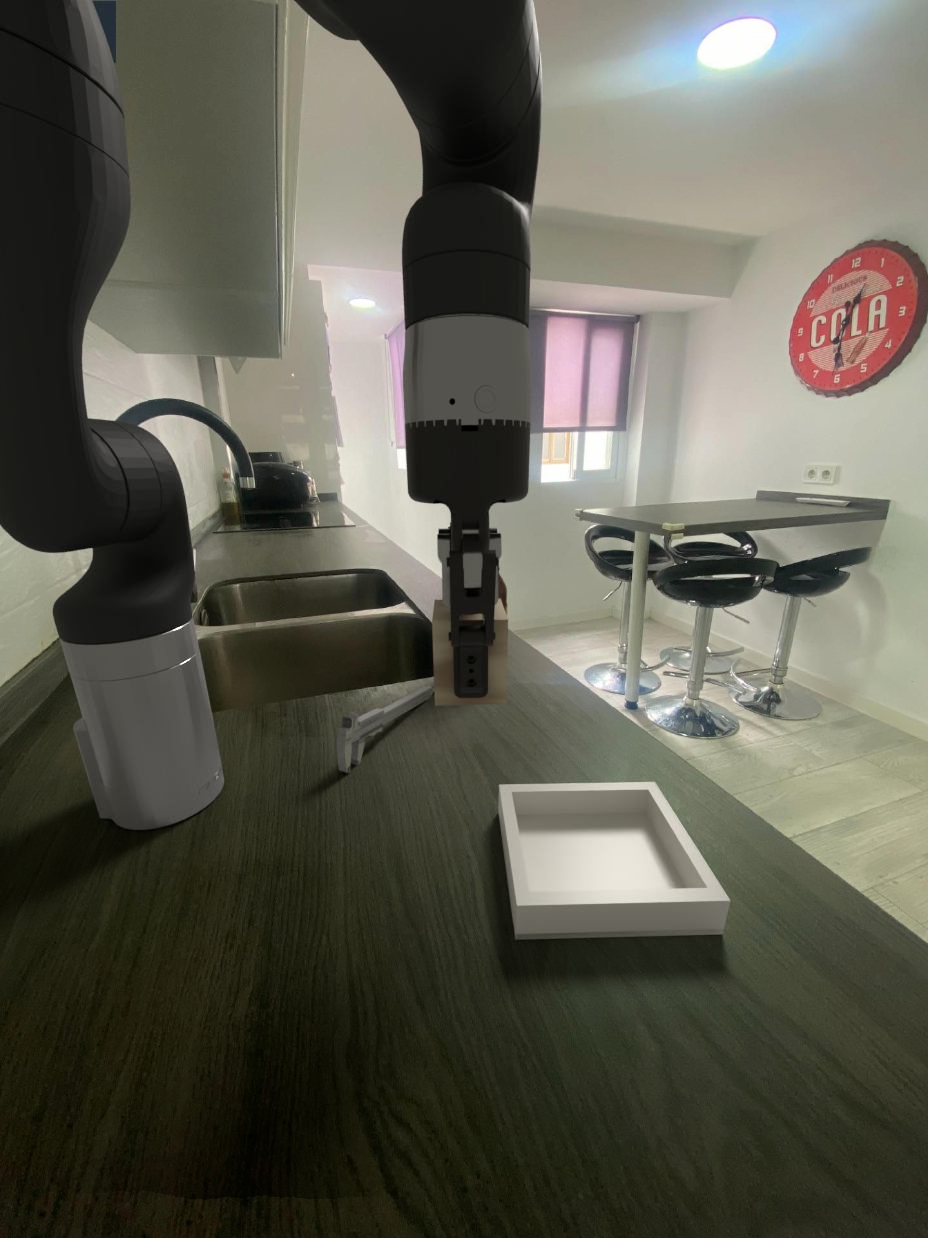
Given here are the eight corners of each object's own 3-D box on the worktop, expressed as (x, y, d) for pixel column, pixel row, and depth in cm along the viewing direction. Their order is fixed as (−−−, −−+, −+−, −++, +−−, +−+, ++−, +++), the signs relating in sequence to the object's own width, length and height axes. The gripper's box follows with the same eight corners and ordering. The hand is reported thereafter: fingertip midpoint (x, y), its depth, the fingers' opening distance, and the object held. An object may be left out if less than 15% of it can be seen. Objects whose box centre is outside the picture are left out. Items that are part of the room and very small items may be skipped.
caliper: (347, 778, 48) (342, 724, 46) (338, 775, 48) (333, 721, 46) (437, 692, 65) (436, 650, 63) (430, 691, 66) (429, 649, 64)
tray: (515, 939, 31) (516, 905, 30) (498, 812, 43) (499, 784, 42) (722, 934, 32) (730, 900, 31) (650, 809, 43) (654, 782, 42)
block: (434, 705, 31) (432, 618, 29) (437, 674, 36) (434, 597, 34) (506, 704, 31) (508, 617, 30) (499, 673, 36) (500, 596, 34)
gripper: (413, 428, 35) (422, 642, 40) (389, 405, 21) (407, 734, 27) (514, 427, 35) (510, 640, 40) (554, 404, 21) (539, 731, 27)
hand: (469, 676), depth 33 cm, fingers closed on block, 4 cm apart
